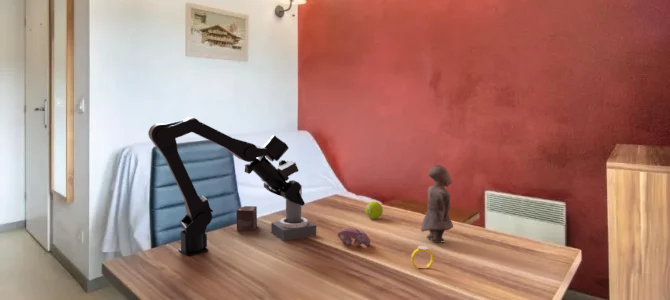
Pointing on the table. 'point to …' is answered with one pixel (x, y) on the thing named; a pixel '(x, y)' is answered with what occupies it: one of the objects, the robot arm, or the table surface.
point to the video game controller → (354, 236)
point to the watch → (423, 249)
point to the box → (247, 218)
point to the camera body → (293, 229)
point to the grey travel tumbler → (293, 211)
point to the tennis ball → (374, 210)
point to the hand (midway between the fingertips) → (297, 201)
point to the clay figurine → (438, 205)
